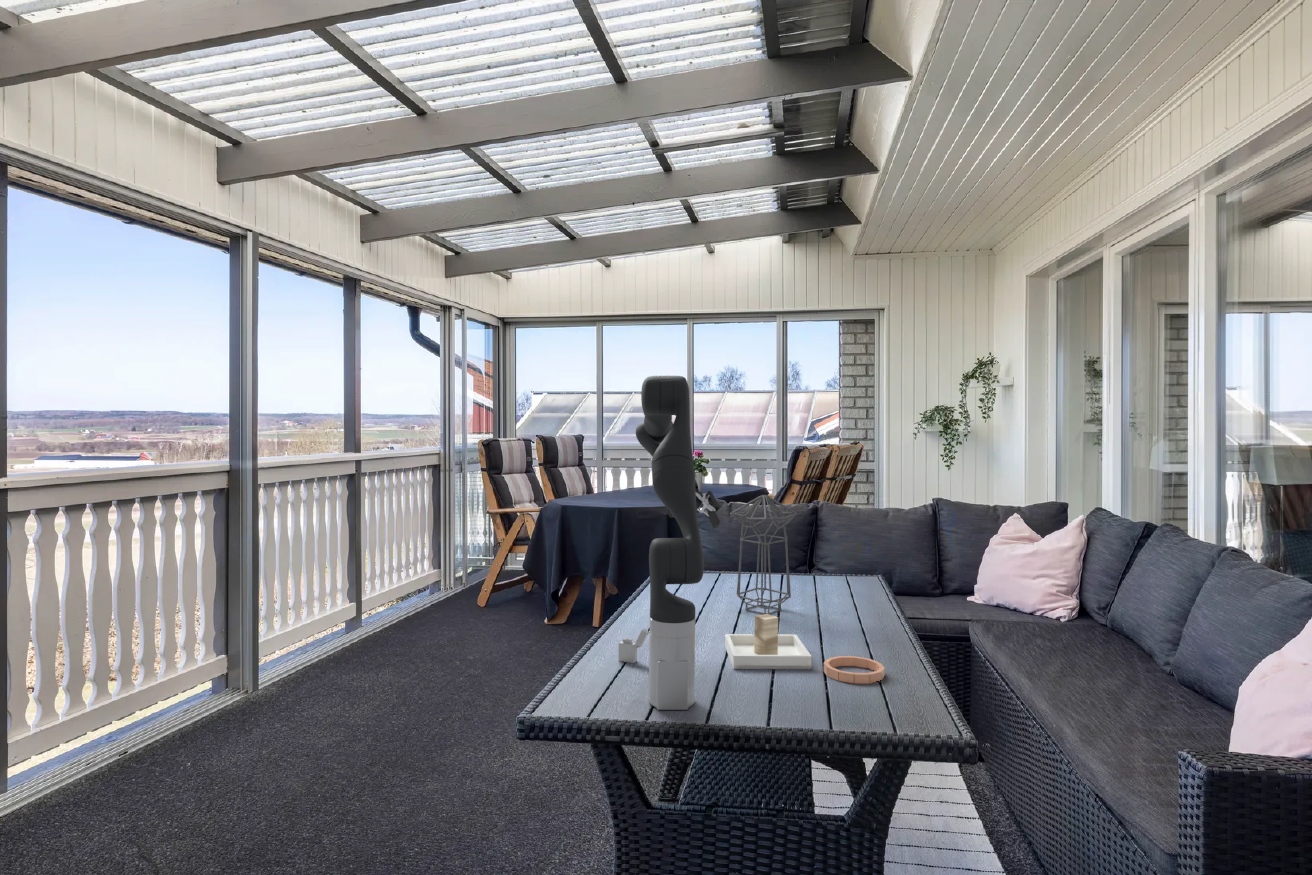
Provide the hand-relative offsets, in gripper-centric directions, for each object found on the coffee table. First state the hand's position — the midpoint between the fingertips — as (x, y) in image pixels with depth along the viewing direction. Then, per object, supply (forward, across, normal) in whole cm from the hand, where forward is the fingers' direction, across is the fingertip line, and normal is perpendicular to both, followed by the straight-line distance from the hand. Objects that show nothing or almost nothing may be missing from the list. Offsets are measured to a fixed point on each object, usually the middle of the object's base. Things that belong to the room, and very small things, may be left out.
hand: (702, 527), depth 192 cm
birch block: (+29, +11, +13) cm, 34 cm away
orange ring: (+44, +20, 0) cm, 48 cm away
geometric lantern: (+5, +39, +39) cm, 55 cm away
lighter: (+21, -19, +22) cm, 36 cm away
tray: (+30, +11, +13) cm, 35 cm away
